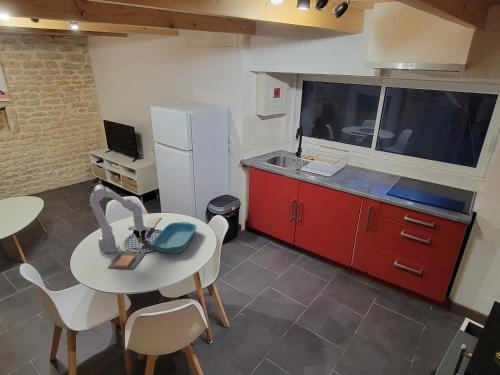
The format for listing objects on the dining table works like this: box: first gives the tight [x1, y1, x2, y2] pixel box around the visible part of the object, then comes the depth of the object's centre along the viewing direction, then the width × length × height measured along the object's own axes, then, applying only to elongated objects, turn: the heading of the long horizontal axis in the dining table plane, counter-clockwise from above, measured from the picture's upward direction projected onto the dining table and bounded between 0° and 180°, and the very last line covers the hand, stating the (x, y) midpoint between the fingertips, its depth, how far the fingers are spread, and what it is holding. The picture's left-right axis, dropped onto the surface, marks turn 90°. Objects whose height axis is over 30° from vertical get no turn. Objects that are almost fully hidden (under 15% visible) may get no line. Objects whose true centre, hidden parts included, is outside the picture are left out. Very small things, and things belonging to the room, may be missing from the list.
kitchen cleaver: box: [145, 216, 162, 237], centre depth 235 cm, size 31×2×10 cm
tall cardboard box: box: [137, 233, 147, 243], centre depth 212 cm, size 12×6×5 cm, turn 174°
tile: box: [114, 255, 135, 268], centre depth 192 cm, size 8×2×10 cm
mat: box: [107, 250, 146, 271], centre depth 195 cm, size 16×18×1 cm
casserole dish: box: [152, 221, 197, 254], centre depth 214 cm, size 37×22×7 cm, turn 170°
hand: (141, 239), depth 214 cm, fingers open, 3 cm apart
